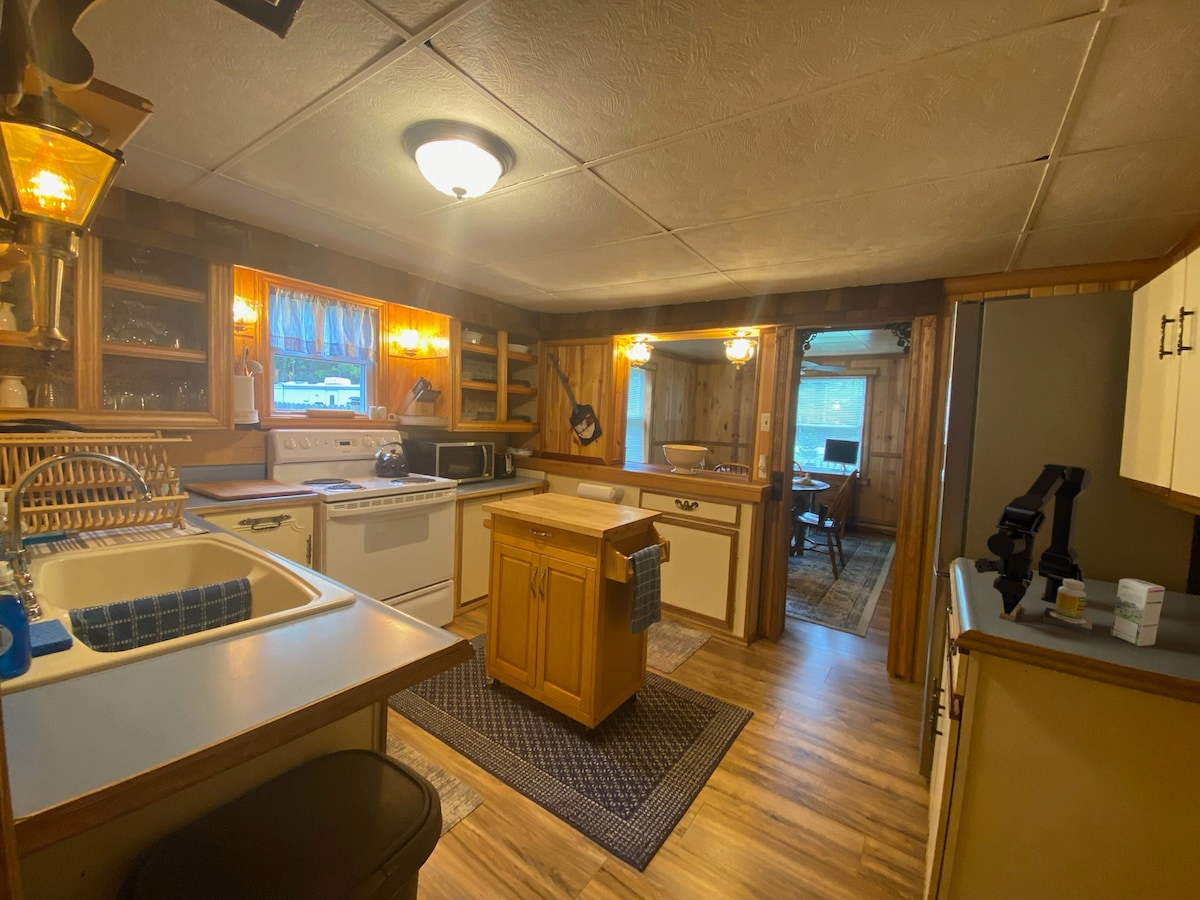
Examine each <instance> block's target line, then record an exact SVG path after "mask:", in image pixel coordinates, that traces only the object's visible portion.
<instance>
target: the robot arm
mask: <svg viewBox="0 0 1200 900" xmlns="http://www.w3.org/2000/svg"><path fill="white" fill-rule="evenodd" d="M1092 475H1093V474H1092V471H1089V470H1088V469H1087V467H1085V466H1084V467H1083V466H1075V465H1068V464H1060V463H1059V464H1058V463H1045V464H1044V465H1043V467H1042V471H1041V473H1040V474H1039V475H1038V477H1037V478H1036V480H1035V481H1034V482H1033V483H1032V484H1031V486H1030V487H1029V488H1028V490H1027V491H1026V493H1025V494H1023V495H1020V496H1017V497H1014V498H1013V499H1012V500H1011V501H1010V502H1009V503H1008V504H1007V505H1005V507H1004V508H1003V509H1002V510H1003V511H1002V512H1001V514H1000V516H999V518H998V521H997V523H996V524H995V528H998V532H997V533H994V534H992V535H990V536H989V538H988V539H987V541H986V545H987V548H988V550H989V551H990V552H991V554H992V555H993V556H991V557H987V556H986V557H977V558H975V559H974V561H973V562H974V568H975V570H976V572H977V574H984V573H993V572H994V573H995V572H997V575H998V576H996V577H995V579H994V580H993V587H992V588H993V589H995V590H997V591H998V592H999V593H1000V595H1001V598H1002V600H1003V606H1004V613H1005V614H1008V615H1010V614H1011V613H1012V611H1013V610H1014V609H1015V607H1016V606H1017V605H1018V603H1019V604H1020V602H1021V601H1022V600H1023V598H1024V597H1025V596H1026V594H1027V590H1028V589H1029V587H1030V585H1031V582H1032V581H1033V578H1034V571H1033V570H1032V569H1031V568H1032V563H1033V561H1034V560H1033V559H1034V556H1033V555H1034V549H1035V543H1036V535H1038V533H1040V532H1041V530H1042V528H1043V527H1044V525H1045V523H1046V522H1047V515H1046V509H1045V508H1046V507H1047V505H1048V503H1049V502H1050V501H1051V499H1053V497H1054V506H1053V517H1052V526H1051V536H1050V538H1051V539H1050V545H1049V546H1048V547H1047V548H1046V549H1045V550H1044V551H1043V552H1041V553H1040V554H1041V555H1040V557H1039V560H1038V576H1039V577H1041V578H1046V581H1045V587H1044V592H1042V594H1041V596H1040V597H1041V598H1040V599H1041V600H1043V601H1045V602H1051V603H1055V604H1056V600H1057V593H1058V588H1059V587H1061V586H1064V585H1063V579H1073V580H1077V581H1080V582H1083V583H1084V582H1085V580H1084V579H1085V576H1084V572H1083V569H1082V566H1081V565H1080V555H1079V554H1078V553H1077V551H1076V549H1075V548H1074V540H1075V533H1076V523H1077V512H1078V503H1079V498H1080V497H1081V496H1082V495H1083V494H1084V492H1086V491H1087V489H1088V487H1089V485H1090V483H1091V482H1092V477H1093V476H1092Z"/></svg>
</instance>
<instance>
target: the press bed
mask: <svg viewBox="0 0 1200 900" xmlns="http://www.w3.org/2000/svg"><path fill="white" fill-rule="evenodd" d="M1054 612H1055V608H1051V607H1048V606H1046V607H1045V609H1044V613H1043V616H1042V623H1045V624H1048V623H1049V624H1050V625H1053V626H1055V627H1058V628H1059V627H1060V628H1063V629H1068V630H1072V631H1075V632H1079V633H1082V634H1085V635H1088V636H1089V635H1090V636H1091V635H1092V628H1093V618H1090V617H1087V616H1083V618H1082V620H1081V621H1071V620H1067V619H1063V618H1061V617H1059V616H1057V615H1056V614H1055V613H1054Z"/></svg>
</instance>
